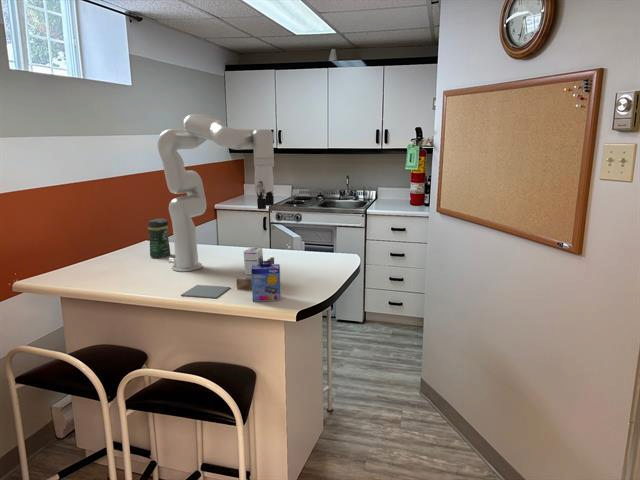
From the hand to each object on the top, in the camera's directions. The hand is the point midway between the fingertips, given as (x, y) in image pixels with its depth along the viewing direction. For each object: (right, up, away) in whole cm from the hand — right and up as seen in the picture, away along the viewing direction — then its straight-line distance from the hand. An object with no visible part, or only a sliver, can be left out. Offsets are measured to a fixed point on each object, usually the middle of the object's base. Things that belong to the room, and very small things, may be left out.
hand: (265, 207), depth 182 cm
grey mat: (-21, -32, -7) cm, 39 cm away
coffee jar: (-57, -21, +48) cm, 77 cm away
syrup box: (-4, -31, -1) cm, 31 cm away
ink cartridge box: (+2, -34, -16) cm, 38 cm away
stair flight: (-4, -30, -1) cm, 31 cm away
